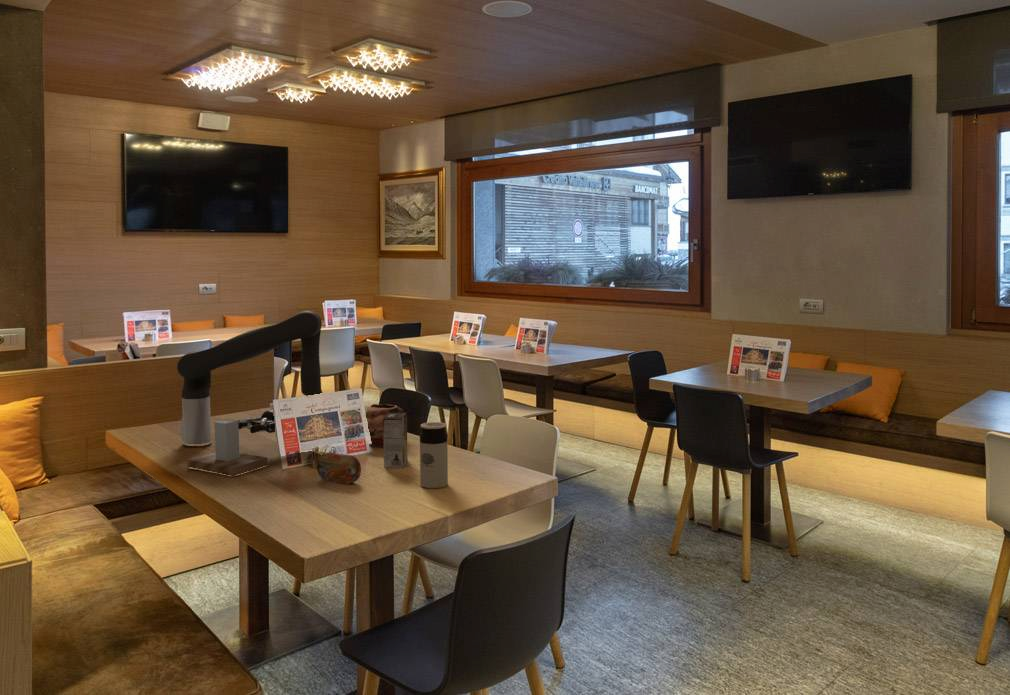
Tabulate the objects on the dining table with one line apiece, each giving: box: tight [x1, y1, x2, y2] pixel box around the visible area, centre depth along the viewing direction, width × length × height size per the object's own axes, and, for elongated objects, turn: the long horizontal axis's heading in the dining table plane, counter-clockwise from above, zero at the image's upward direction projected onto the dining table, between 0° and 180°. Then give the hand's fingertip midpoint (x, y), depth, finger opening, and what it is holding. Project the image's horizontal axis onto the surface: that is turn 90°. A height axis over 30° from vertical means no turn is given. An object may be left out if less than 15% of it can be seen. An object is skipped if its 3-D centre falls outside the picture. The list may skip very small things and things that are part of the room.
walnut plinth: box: [187, 451, 269, 476], centre depth 245 cm, size 20×14×3 cm
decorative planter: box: [365, 403, 405, 448], centre depth 277 cm, size 20×12×14 cm, turn 152°
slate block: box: [213, 418, 241, 461], centre depth 244 cm, size 5×5×12 cm
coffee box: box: [383, 412, 408, 469], centre depth 249 cm, size 9×6×16 cm
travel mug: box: [419, 421, 449, 490], centre depth 225 cm, size 8×8×18 cm
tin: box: [316, 452, 362, 485], centre depth 229 cm, size 15×3×8 cm, turn 62°
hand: (241, 428), depth 249 cm, fingers open, 8 cm apart
